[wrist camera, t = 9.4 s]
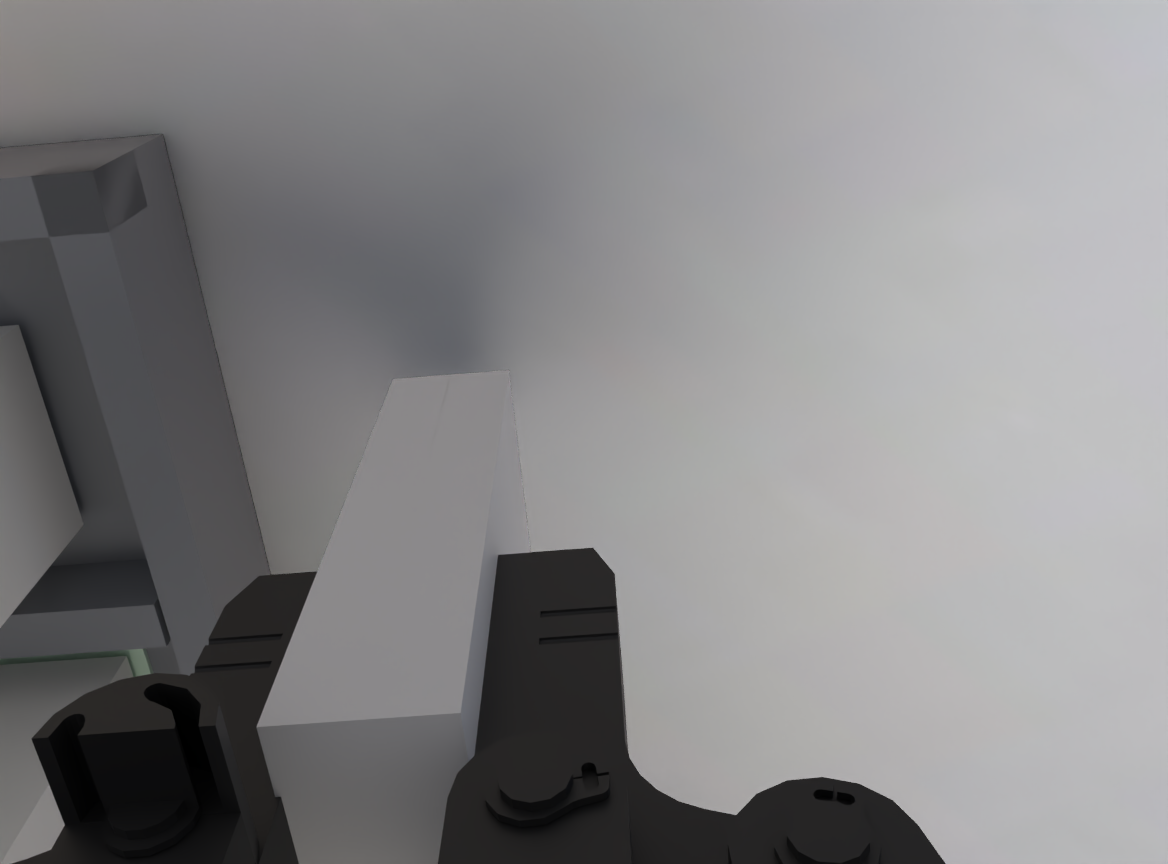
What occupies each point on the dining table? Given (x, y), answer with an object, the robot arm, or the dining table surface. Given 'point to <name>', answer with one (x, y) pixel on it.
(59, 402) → the switch bank
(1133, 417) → the dining table surface
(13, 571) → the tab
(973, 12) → the dining table surface
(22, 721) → the tab mid
